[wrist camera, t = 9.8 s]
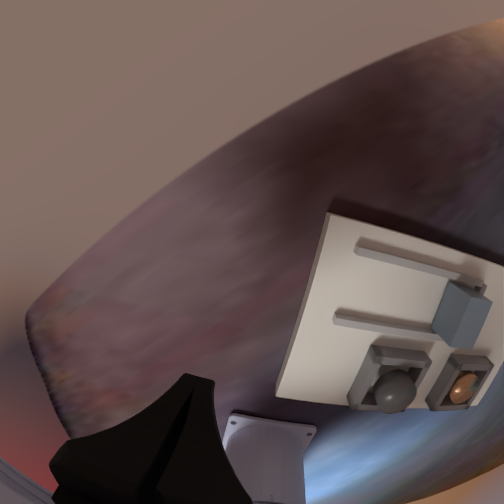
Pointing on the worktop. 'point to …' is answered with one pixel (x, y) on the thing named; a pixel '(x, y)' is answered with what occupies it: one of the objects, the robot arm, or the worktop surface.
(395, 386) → the black button
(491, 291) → the control panel
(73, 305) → the worktop surface
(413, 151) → the worktop surface
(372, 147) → the worktop surface
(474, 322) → the block
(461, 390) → the copper button
